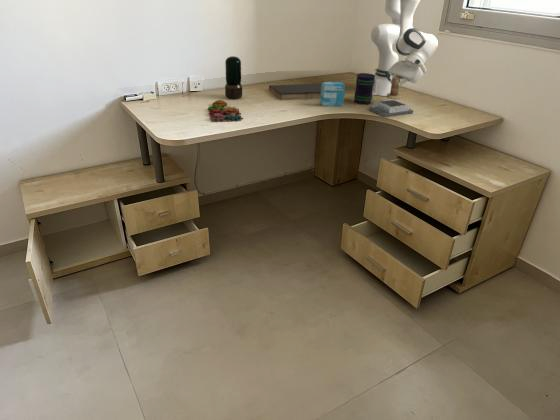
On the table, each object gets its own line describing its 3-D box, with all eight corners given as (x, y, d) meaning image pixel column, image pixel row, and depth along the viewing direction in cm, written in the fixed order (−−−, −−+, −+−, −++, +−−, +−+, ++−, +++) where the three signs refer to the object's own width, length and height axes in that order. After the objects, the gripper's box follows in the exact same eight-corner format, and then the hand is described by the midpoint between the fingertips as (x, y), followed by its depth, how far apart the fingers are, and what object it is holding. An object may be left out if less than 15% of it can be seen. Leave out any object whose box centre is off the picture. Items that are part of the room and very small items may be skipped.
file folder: (281, 94, 236) (269, 84, 256) (281, 101, 238) (269, 91, 258) (336, 91, 246) (320, 82, 266) (335, 98, 248) (319, 88, 268)
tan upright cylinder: (383, 96, 224) (386, 77, 219) (394, 95, 227) (397, 76, 222) (392, 99, 219) (395, 79, 214) (403, 98, 222) (406, 79, 217)
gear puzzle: (205, 104, 228) (205, 96, 226) (236, 103, 231) (235, 96, 229) (210, 123, 202) (210, 115, 200) (244, 122, 205) (244, 114, 203)
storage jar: (374, 102, 241) (378, 75, 234) (364, 105, 235) (368, 78, 227) (360, 98, 247) (363, 72, 239) (350, 101, 241) (353, 74, 233)
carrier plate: (368, 109, 228) (370, 101, 226) (397, 106, 236) (398, 98, 233) (384, 117, 218) (385, 108, 216) (412, 113, 226) (414, 104, 223)
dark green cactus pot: (223, 95, 242) (222, 55, 232) (240, 94, 245) (239, 54, 234) (227, 100, 235) (226, 58, 224) (244, 99, 237) (243, 58, 226)
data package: (321, 106, 231) (323, 83, 225) (319, 104, 235) (321, 81, 229) (343, 106, 233) (345, 83, 227) (340, 103, 237) (343, 81, 231)
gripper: (397, 55, 225) (379, 75, 226) (424, 62, 209) (404, 84, 210) (402, 64, 229) (384, 83, 229) (429, 71, 213) (410, 93, 214)
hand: (394, 84), depth 219 cm, fingers closed on tan upright cylinder, 4 cm apart
